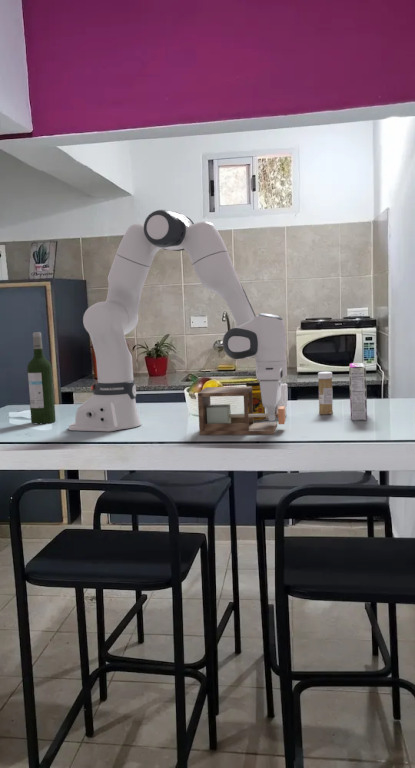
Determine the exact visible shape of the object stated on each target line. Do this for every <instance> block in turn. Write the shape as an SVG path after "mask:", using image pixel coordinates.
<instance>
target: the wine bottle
mask: <svg viewBox="0 0 415 768" xmlns="http://www.w3.org/2000/svg"><path fill="white" fill-rule="evenodd" d="M32 341H33V343H32V344H33V357H32V358H31V359H30V361H29V362H28V364H27V366H26V369H27V370H26V371H27V382H28V395H29V407H30V408H29V410H30V421H31V424H32V423H38V424H37V425H45V424H44V423H48V424H53V423H55V422H56V411H55V410H56V408H55V406H56V405H55V393H54V381H53V367H52V364H51V362H50V361H49V360H48V359H47V358H45V356H44V350H43V341H42V333H41V331H38V332H37V331H35V332H32ZM52 422H53V423H52ZM40 423H42V424H40Z"/></svg>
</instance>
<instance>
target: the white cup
mask: <svg viewBox="0 0 415 768" xmlns="http://www.w3.org/2000/svg"><path fill="white" fill-rule="evenodd" d="M279 406H285V416H286V415H287V407H288V383H285V382H281V398H280V400H279V402H278V407H277V413H278V408H279ZM265 414H268V410H267V408H265Z"/></svg>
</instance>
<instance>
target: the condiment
mask: <svg viewBox="0 0 415 768" xmlns="http://www.w3.org/2000/svg"><path fill="white" fill-rule="evenodd" d="M248 386H252V399H253V414H266V410H265V407H263V404H262V398H261V390H260V380H253V381H252V380H251V381H247V382H245V387H248ZM248 414H249V394H248ZM266 420H268V421H269V417H253V422H260V421H261V422H263V421H266Z"/></svg>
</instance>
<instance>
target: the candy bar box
mask: <svg viewBox="0 0 415 768" xmlns="http://www.w3.org/2000/svg"><path fill="white" fill-rule="evenodd" d="M348 367H349V371H348V372H349V374H348V375H349V401H350V403H349V405H350V418H351V421H353V420H359V421H367V420H368V405H367V403H368V402H367V398H368V397H367V370H366V363H365V362H351V363H349V366H348Z"/></svg>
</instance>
